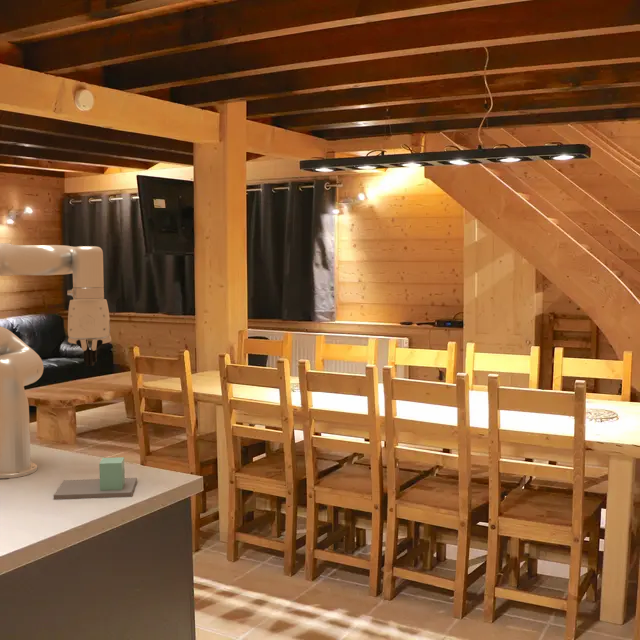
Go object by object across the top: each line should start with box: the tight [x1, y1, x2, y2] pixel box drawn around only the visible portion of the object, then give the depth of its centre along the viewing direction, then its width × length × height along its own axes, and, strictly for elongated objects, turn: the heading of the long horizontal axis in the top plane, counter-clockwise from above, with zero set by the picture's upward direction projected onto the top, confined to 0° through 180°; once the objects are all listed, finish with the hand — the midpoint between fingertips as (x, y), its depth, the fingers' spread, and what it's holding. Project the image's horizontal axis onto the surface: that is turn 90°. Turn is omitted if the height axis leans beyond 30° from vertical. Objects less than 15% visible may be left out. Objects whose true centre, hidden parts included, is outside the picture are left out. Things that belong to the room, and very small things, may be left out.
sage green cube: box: [98, 456, 126, 490], centre depth 186 cm, size 5×5×7 cm
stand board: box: [53, 477, 138, 500], centre depth 187 cm, size 18×12×1 cm, turn 97°
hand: (90, 365), depth 197 cm, fingers closed
